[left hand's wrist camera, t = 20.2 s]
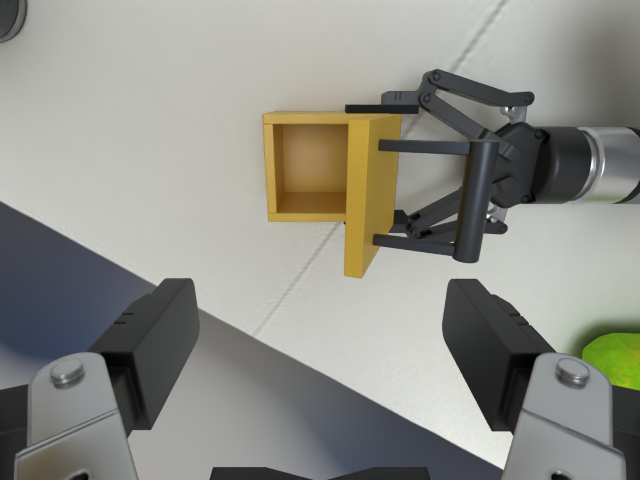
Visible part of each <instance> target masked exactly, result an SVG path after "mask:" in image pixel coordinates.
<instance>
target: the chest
mask: <svg viewBox="0 0 640 480" xmlns="http://www.w3.org/2000/svg"><path fill="white" fill-rule="evenodd" d="M385 114H389V113H345V111H275V112H270V113H264V114H263V133H264V152H265V170H266V189H267V208H268V221H269V222H346V194H347V160H348V126H349V120H350V119H357V118H364V117H371V116H378V115H385Z"/></svg>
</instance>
